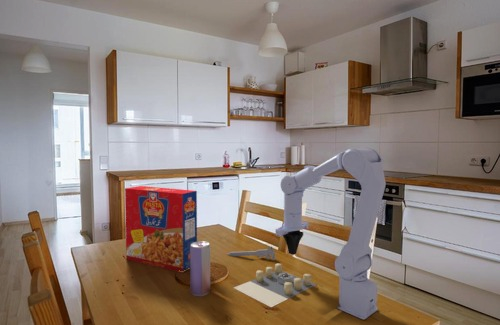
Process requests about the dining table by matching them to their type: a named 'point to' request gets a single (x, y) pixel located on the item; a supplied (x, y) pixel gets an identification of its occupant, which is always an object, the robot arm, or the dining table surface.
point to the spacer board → (274, 286)
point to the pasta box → (160, 226)
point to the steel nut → (284, 278)
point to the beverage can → (200, 268)
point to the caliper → (256, 253)
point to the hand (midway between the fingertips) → (292, 253)
